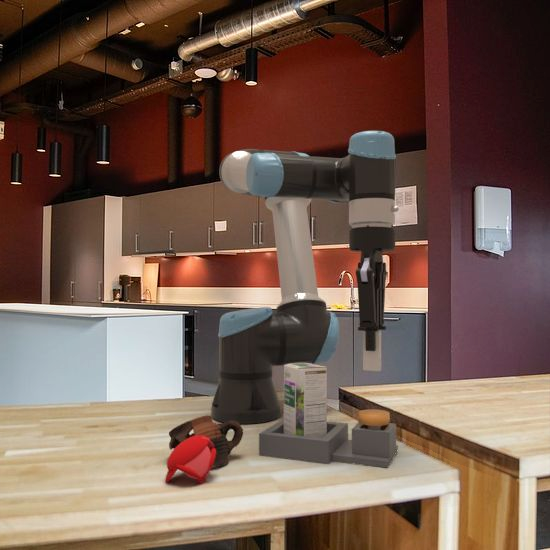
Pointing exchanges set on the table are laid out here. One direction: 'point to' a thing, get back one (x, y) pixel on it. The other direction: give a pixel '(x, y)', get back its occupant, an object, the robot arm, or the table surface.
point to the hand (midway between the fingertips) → (372, 369)
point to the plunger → (374, 418)
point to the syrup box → (305, 399)
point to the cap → (192, 458)
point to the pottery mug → (209, 436)
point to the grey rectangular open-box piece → (332, 444)
